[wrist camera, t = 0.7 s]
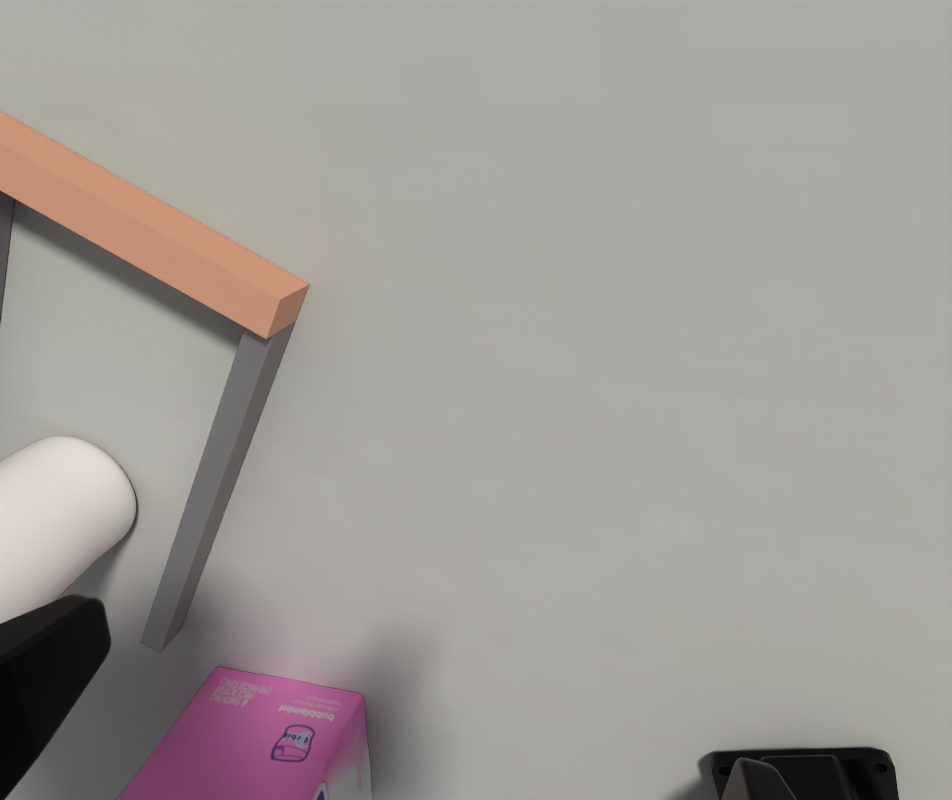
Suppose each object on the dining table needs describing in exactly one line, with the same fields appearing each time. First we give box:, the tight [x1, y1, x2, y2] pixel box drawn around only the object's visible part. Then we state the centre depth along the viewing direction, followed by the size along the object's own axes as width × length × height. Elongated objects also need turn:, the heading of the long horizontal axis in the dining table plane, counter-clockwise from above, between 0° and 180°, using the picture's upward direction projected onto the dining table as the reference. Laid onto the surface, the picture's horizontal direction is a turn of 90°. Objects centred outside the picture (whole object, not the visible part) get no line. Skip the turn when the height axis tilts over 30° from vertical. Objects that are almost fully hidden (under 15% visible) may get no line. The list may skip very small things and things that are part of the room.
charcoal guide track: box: [0, 191, 295, 653], centre depth 25 cm, size 18×12×2 cm
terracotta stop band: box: [0, 111, 309, 339], centre depth 21 cm, size 2×12×2 cm, turn 63°
